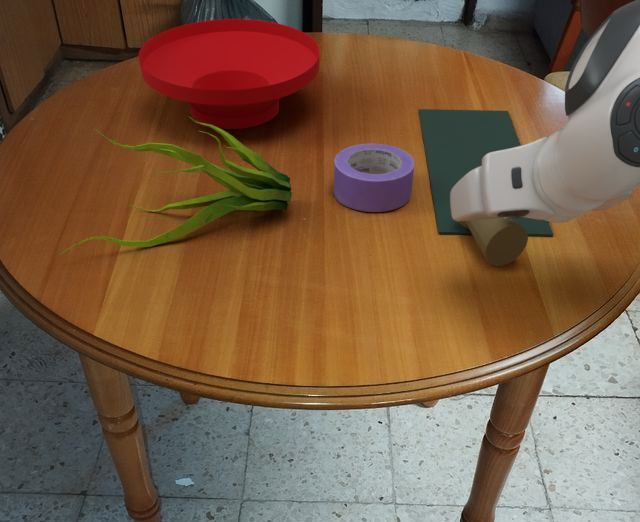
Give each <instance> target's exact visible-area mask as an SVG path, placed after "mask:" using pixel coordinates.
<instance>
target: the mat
mask: <svg viewBox="0 0 640 522" xmlns="http://www.w3.org/2000/svg"><path fill="white" fill-rule="evenodd" d="M418 117H419V123H420V128H421V135H422V141H423V148H424V153H425V154H424V155H425V160H426V166H427V172H428V180H429V185H430V191H431V197H432V203H433V209H434V210H433V211H434V216H435V222H436V229H437V234H438V235H455V236H456V235H459V236H473V235H472V233H471V231H470V229H467V228H465V227H463V226H462V225H461V224H460V223H459V222H458V221H455V220H454V219H453V218H452V214H451V206H450V192H451V190H452V188H453V187H454V186H455V184H456V183H457V182H458V181H459V180H460V179H461V178H463V177H464V176H465V175H466V174H467V173H468V172H470V171H471V170H473V169H475V168H477V167H480V166H482V158H483V157H484V156H485V155H486V154H488V153H490V152H494V151H499V150H502V149H507V148H512V147H516V146H521V145H522V144H521V142H520V139H519V137H518V134H517V131H516V128H515V125H514V123H513V120H512V118H511V115H510V112H509V110H493V109H492V110H489V109H488V110H487V109H486V110H485V109H483V110H482V109H441V108H439V109H434V108H433V109H432V108H418ZM512 220H513V221H515V222H516V223H518V224H519V225H520V226H522V227H523V228H525V230H526V231H527V233H528V237H546V238H549V237H551V238H552V237H553V236H554V232H553V229H552V227H551V224H550V222H548V221H545V220H539V219H532V218H514V219H512Z"/></svg>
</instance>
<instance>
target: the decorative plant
mask: <svg viewBox="0 0 640 522" xmlns="http://www.w3.org/2000/svg"><path fill="white" fill-rule="evenodd" d="M187 118H189V119H190V120H192V121H193V122H194V123H196V124H198V125H201V126H204V127H208V128H210V129H211V130H214V131H215V132H216V133H218V134H220V135H221V136H222V137H223V138H224V140H225V141H226V142H227V143H228V145H229V146H226V145H224V144H222V145H221V140H220V139H219V138H218V137H217V136H216V135H213V134H211V133H209V132H206V131H201V130H198V132H200V133H203V134H207V135H209V136H211V137H212V138H214V139H215V140H216V141H217V143H218V152H219V157H220V160H221V163H222V166H224V167H225V168H223V167H221V166H219V165H216V164H214V163H212V162H210V161H208V160H207V159H205V158H204V157H202V156H201V154H197V153H195V152H192V151H190V150H187V149H185V148H183V147H181V146H177V145H176V144H172V143H161V142H147V143H143V144H139V145H138V144H137V145H134V146H131V145H127V144H121V143H118V142H116V141H114V140H113V139H110V138H108V137H107V136H105V135H104V134H102V133H101V132H100V131H99V130H97V129H96V128H94V131H96V132H97V133H99V134H100V136H103V137H104V138H105V139H106V140H108V141H109V142H110V143H112V144H113V145H115V146H118V147H121V148H122V149H127V150H133V151H136V152H153V153H157V154H161V155H164V156H168V157H171V158H174V159H176V160H178V161H181V162H184V163H187V164H190V165H192V166H194V167H190V168H184V169H175V170H169V171H165V173H198V172H202V173H204V174H206V175H208V176H209V177H210V178H211V179H213V180H214V181H215V182H216V183H218V184H219V185H221V186H223V187H224V188H226V189H228V190H224V191H219V192H216V193H212V194H207V195H203V196H199V197H195V198H190V199H188V200H183V201H177V202H173V203H168V204H166V205H164V206H163V207H161V208H159V209H155V210H153V209H146V208H141V207H138V206H135V205H131V204H127V206H130V207H133V208H136V209H138V210H141V211H147V212H151V213H162V212H165V211H168V210H169V211H170V210H187V209H188V210H189V209H196V208H201V207H202V209H200V210H199V211H198V212H196V213H195V214H194V215H192V216H191V217H189V218H188V219H187V220H186V221H184V222H183V223H181V224H180V225H178V226H177V227H175V228H171V229H170V230H168V231H166V232H163V233H161V234H159V235H157V236H155V237H152V238H150V239H148V240H122V239H119V238H114V237H109V236H106V235H102V236H101V235H100V236H90V237H88V238H86V239H83V240H81V241H79V242H76V243H74V244H72V245H71V246H69V247H68V248H67V249H65V250H64V251H62V252H61V253H59V254H58V256H61V255H63V254H64V253H66V252H67V251H68V250H70V249H71V248H73V247H75V246H78V245H80V244H83V243H85V242H88V241H92V240H103V241H104V240H105V241H109V242H111V243H113V244H117V245H120V246H122V247H135V248H137V247H138V248H150V247H154V246H157V245H161V244H164V243H167V242H171V241H174V240H178V239H181V238H183V237H185V236H187V235H188V234H190V233H192V232H194V231H196V230H197V229H200V228H201V227H204V226H205V225H207V224H209V223H211V222H213V221H215V220H217V219H219V218H221V217H223V216H225V215H227V214H229V213H231V212H232V213H233V212H240V211H258V212H265V211H272V210H279V211H287V210H288V207H289V203H291V202H292V196H293V195H292V194H293V192H292V185H291V183H290V182H291V177H289V175H288V174H286V173H285V174H284V173H282V172H280V171H278V170H276V168H274V167H273V166H272V165H271V164H270V163H268V162H267V161H266V160H265V159H264V158H263V157H262V156H261V155H260V154H259V153H258V152H255V151H254V150H253V151H252V150H251V149H250V148H248V147H247V146H245V144H243V143H242V142H240V141H239V140H238V139H237V138H235V136H233V135H231V133H229V132H227V131H226V130H225V129H220V128H218V127H215V126H213V125H210V124H205V123H200V122H198V121H197V120H195V119H194V118H193V117H192V116H189V115H188V116H187ZM222 146H223V147H225V148H227V149H232V150H233V151H234V152H235V153H236V154H237V156H239V157H240V158H241V160H243V161H244V162H245V163H247V164H249V165H251V167H253V168H255V169H253V168H248V167H244V166H241V165H238V164H237V163H235V162H233V161H230V160H228V159H226V157H225V155H224V152H223V150H222ZM226 168H227V169H226ZM156 173H157V174H159V173H162V171H153V172H152V174H156Z"/></svg>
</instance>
